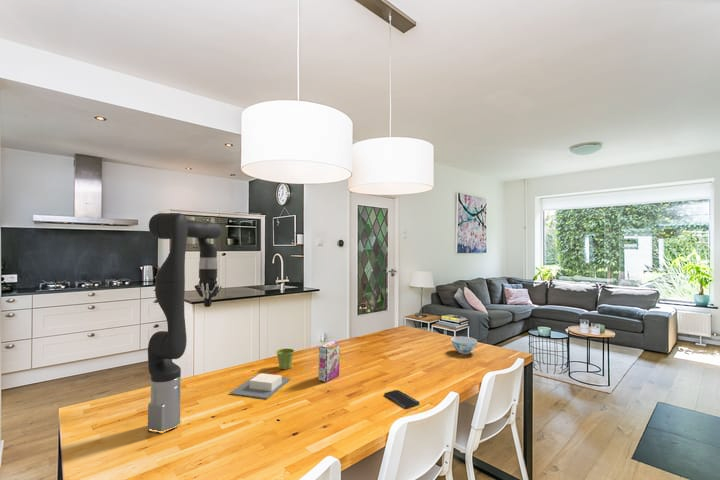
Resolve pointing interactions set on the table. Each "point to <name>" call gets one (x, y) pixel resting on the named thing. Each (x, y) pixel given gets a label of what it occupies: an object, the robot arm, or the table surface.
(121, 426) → the table surface
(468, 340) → the chinaware
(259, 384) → the cream block
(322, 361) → the candy bar box
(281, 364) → the plant pot
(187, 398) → the table surface
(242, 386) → the slate mat
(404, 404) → the phone
